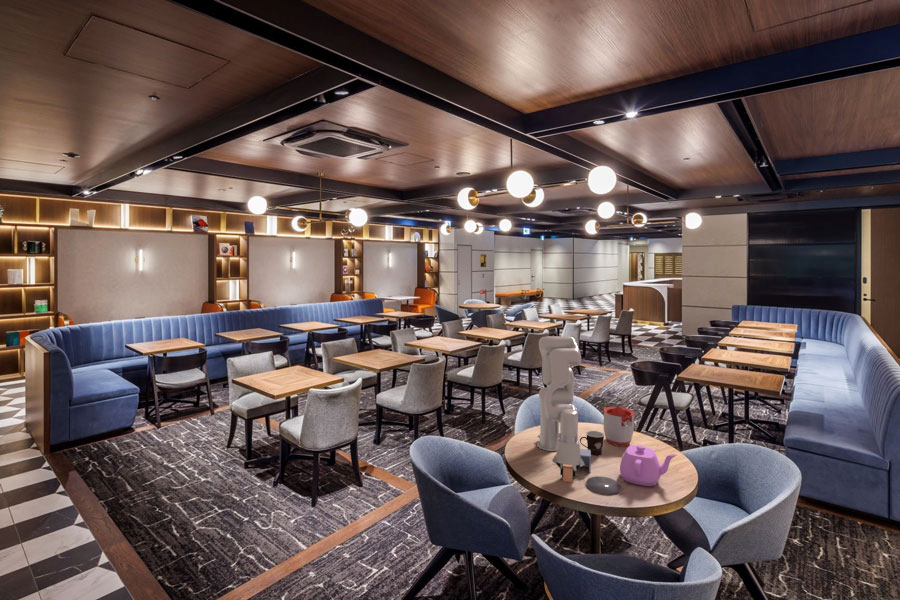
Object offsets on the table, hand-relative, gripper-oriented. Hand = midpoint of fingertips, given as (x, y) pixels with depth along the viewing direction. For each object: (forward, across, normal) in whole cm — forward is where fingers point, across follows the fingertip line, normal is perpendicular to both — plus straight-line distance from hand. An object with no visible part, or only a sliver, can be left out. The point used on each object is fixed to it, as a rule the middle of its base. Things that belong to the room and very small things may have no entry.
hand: (567, 476), depth 200 cm
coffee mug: (+2, +11, +32) cm, 34 cm away
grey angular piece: (+1, +6, +12) cm, 14 cm away
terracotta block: (+1, 0, 0) cm, 1 cm away
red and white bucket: (+2, +25, +49) cm, 55 cm away
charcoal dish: (+1, +15, -2) cm, 15 cm away
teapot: (+1, +32, +9) cm, 33 cm away
